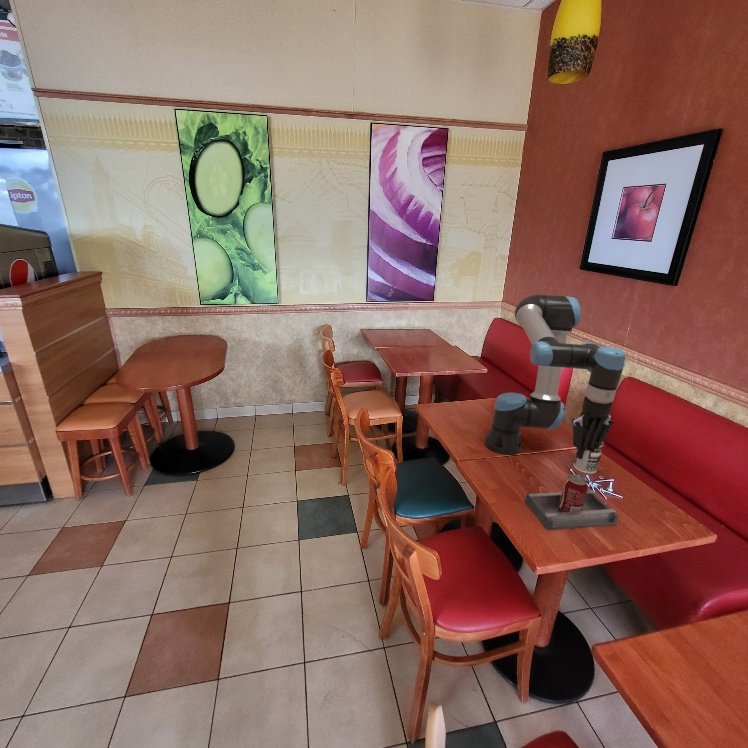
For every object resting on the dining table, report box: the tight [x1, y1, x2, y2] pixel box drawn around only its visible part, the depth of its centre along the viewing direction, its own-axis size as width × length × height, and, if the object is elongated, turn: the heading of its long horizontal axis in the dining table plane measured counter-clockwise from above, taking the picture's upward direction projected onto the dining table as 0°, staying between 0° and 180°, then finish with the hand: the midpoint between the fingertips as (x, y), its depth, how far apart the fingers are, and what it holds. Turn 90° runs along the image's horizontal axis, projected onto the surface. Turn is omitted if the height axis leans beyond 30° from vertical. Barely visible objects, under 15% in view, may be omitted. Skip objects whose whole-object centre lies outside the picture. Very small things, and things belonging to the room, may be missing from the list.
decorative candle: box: [572, 414, 612, 474], centre depth 156 cm, size 9×9×25 cm
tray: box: [524, 489, 620, 531], centre depth 133 cm, size 14×24×4 cm, turn 99°
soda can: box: [559, 474, 589, 512], centre depth 131 cm, size 7×7×12 cm
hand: (580, 466), depth 128 cm, fingers closed
